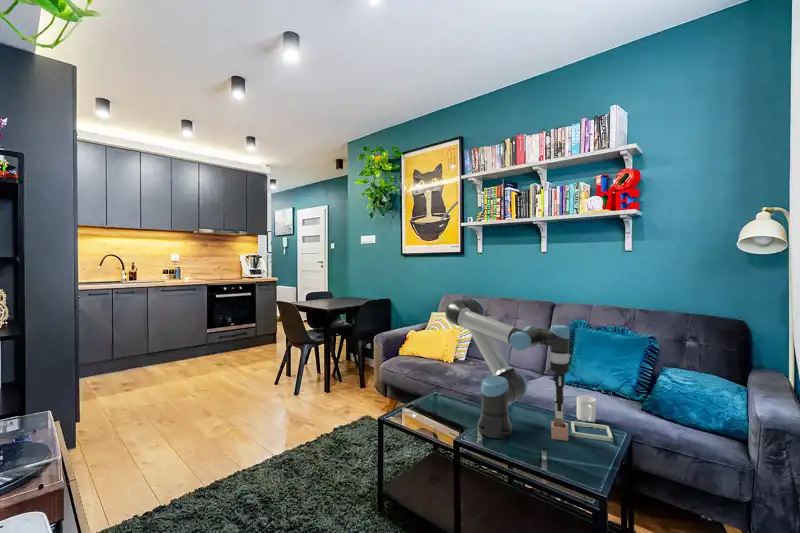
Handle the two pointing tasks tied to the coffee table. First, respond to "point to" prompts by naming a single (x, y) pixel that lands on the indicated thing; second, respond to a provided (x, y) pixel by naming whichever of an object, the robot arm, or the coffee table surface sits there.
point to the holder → (559, 431)
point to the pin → (557, 420)
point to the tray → (591, 436)
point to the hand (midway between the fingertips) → (559, 416)
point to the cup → (586, 408)
